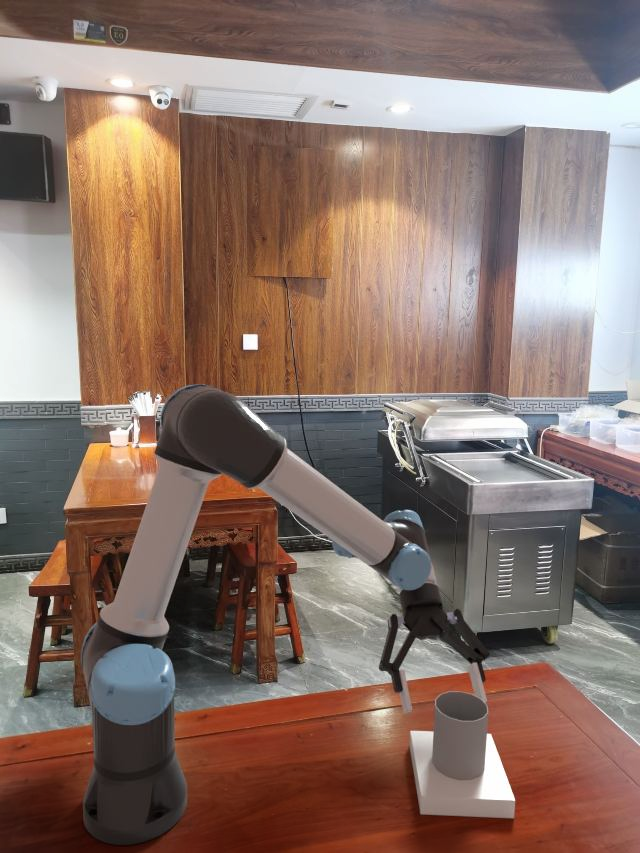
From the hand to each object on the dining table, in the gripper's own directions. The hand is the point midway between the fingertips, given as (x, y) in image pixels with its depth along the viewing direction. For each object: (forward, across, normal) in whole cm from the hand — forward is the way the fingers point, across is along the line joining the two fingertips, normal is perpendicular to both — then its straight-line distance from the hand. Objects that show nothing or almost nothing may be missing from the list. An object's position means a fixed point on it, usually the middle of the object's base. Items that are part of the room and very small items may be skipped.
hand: (445, 707), depth 110 cm
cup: (+9, 0, 0) cm, 9 cm away
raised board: (+11, 0, -1) cm, 11 cm away
